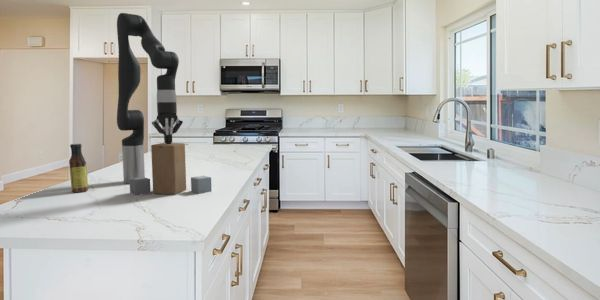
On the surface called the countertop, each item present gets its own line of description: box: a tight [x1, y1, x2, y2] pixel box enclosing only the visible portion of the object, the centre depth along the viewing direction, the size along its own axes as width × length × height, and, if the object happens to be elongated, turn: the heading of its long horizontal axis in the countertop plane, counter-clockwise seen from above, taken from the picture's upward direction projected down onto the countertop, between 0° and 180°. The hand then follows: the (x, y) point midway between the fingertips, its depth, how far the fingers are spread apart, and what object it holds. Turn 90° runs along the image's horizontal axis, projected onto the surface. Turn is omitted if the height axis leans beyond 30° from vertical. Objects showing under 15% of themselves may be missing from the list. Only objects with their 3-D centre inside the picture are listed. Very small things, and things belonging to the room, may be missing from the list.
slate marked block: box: [190, 175, 212, 194], centre depth 177 cm, size 6×6×6 cm
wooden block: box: [150, 142, 187, 196], centre depth 175 cm, size 10×10×20 cm
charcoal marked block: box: [129, 176, 151, 196], centre depth 174 cm, size 6×6×6 cm
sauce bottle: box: [68, 143, 89, 193], centre depth 177 cm, size 6×6×20 cm
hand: (168, 143), depth 174 cm, fingers closed
